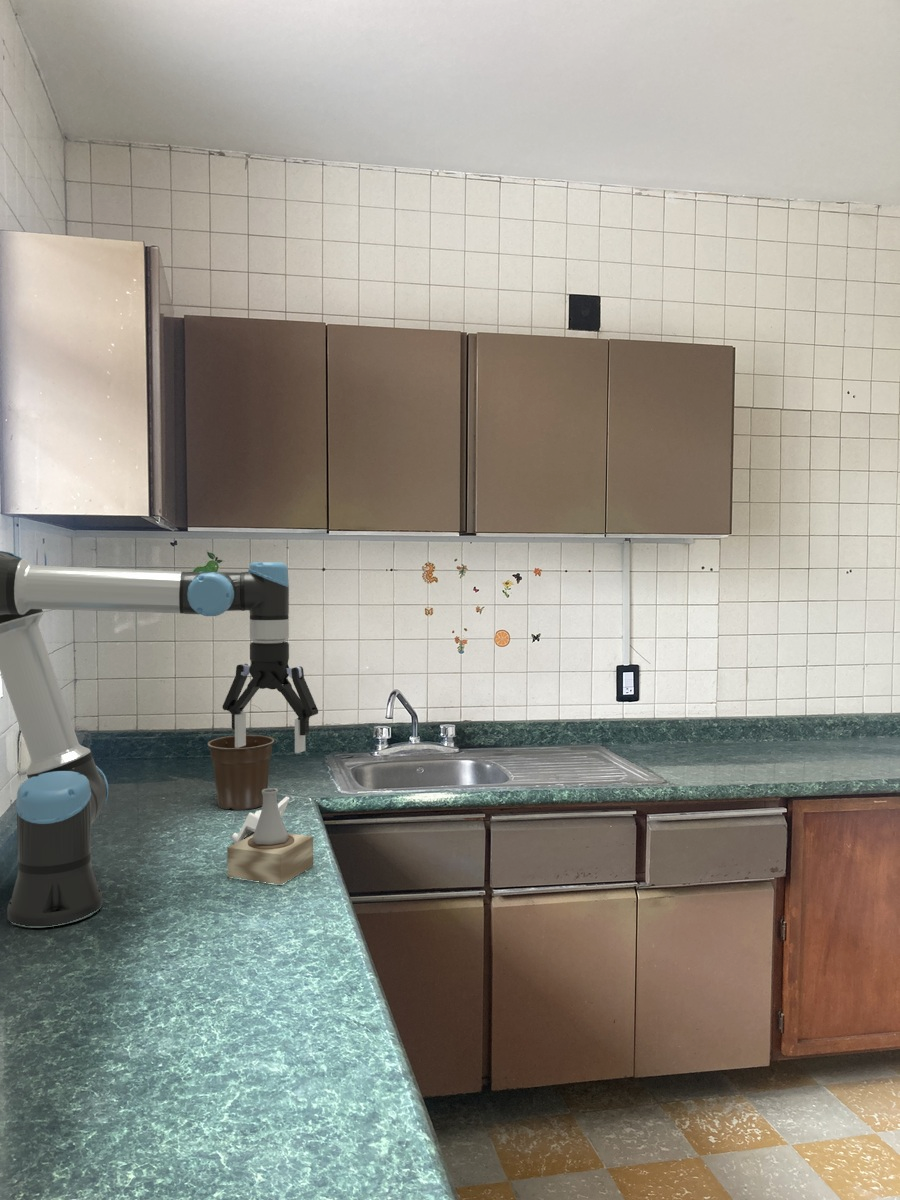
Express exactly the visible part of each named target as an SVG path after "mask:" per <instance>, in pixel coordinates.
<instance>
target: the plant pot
mask: <svg viewBox="0 0 900 1200" xmlns="http://www.w3.org/2000/svg"><path fill="white" fill-rule="evenodd" d="M274 743H275V739H274V738H273V737H271V736H266V735H261V734H246V745H245V746H242V747H239V748H235V735H227V736H222V737H217V738H215V739H211V740H210V741H208V742H207V746H208V748H209V751H210V758H211V761H212V767H213V773H214V781H215V782H214V783H215V791H216V792H215V793H216V799H217V806H218V807H219V808H220V807H221V808H220V809H223V810H227V809H228V810H230V809H233V810H234V811H245V810H247V809H248V810H253V809H255V808H259V807H262V805H263V794H262V790H263V789H269V787H268V786H269V774H270V761H271V756H272V753H273V752H272V751H273V750H272V749H273V744H274ZM248 810H247V811H248Z"/></svg>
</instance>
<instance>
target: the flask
mask: <svg viewBox="0 0 900 1200" xmlns="http://www.w3.org/2000/svg"><path fill="white" fill-rule="evenodd" d="M278 793H279V789H278V788H274V787H273V788H271V787H268V789H263V790H262V794H263V805H262V806H261V810H262V811H261V814H260V817H259V820H258V823H257V826H256V829H255V832H253V834H254V835H253V834H252V835H253V838H252V841H253V842H254V843H256V844H263V845H272V844H278V843H284V842H286V841H287V840H288V838H289V836H288V831H287V828H286V826H285V823H284V821H283V818H282V817H283V816H282V817H281V815H280V812H279V808H278V803H279V802H278Z"/></svg>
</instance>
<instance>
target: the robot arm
mask: <svg viewBox="0 0 900 1200" xmlns="http://www.w3.org/2000/svg"><path fill="white" fill-rule="evenodd" d="M289 596H290V583H289V568H288V565H286V564H285V562H280V561H277V562H276V561H275V562H274V561H273V562H272V561H271V562H269V561H264V562H263V561H259V562H258V561H257V562H255V561H254V562H251V563H250V564H249V568H248V571H241V572H234V571H232V572H231V571H180V570H179V571H177V570H158V569H156V570H155V569H152V570H151V569H134V568H133V569H130V568H129V569H128V568H106V567H105V568H104V567H89V566H88V567H87V566H86V567H84V566H64V565H63V566H62V565H61V566H60V565H37V564H32V563H30V562H29V561H28V559H26V558H23V557H21V556H20V555H17V554H14V553H12V552H9V551H3V550H0V674H1V677H2V679H3V683H4V685H5V689H6V691H7V695H8V697H9V700H10V704H11V706H12V709H13V711H14V715H15V718H16V720H17V723H18V726H19V728H20V731H21V735H22V737H23V741H24V742H25V746H26V748H27V751H28V755H29V757H30V760H31V761H30V764H29V766H28V767H27V770H26V772H25V773H26V776H27V779H25V781H23V782H22V783H21V784H20V785H19V787H18V789H17V793H16V800H15V811H16V830H17V831H16V835H17V836H16V837H17V838H16V839H17V870H18V871H17V875H16V879H15V882H14V886H13V888H12V889H13V890H12V893H11V897H10V899H9V901H8V903H7V920H8V919H9V920H10V921H11V922H13V923H16V924H20V925H25V926H52V925H58V924H62V923H67V922H70V921H73V920H76V919H79V918H82V917H84V916H86V915H88V914H90V913H92V912H94V911H96V910H97V909H99V908H100V907H101V905H102V906H103V892H102V889H101V887H99V884H98V880H97V877H96V873H95V871H94V868H93V866H92V850H91V849H92V846H91V843H92V841H91V839H92V838H91V827H92V825H93V823H94V822H95V821H96V819H98V818H99V816H100V815H101V814H102V812H103V811H104V809H105V806H106V804H107V802H108V797H109V784H108V780H107V777H106V775H105V773H104V772H103V770H102V769H100V768H99V767H98V766H97V765H96V762H95V760H94V758H93V754H92V751H91V749H90V748H89V747H85V746H84V745H81V744H80V742H79V739H78V737H77V735H76V732H75V728H74V725H73V722H72V720H71V716H70V714H69V710H68V707H67V705H66V702H65V699H64V696H63V694H62V691H61V687H60V684H59V682H58V679H57V676H56V673H55V670H54V667H53V664H52V661H51V658H50V655H49V653H48V650H47V646H46V644H45V640H44V637H43V635H42V633H41V629H40V627H39V624H40V621H41V620H42V617H43V615H44V610H51V611H53V610H55V611H56V610H57V611H58V610H59V611H60V610H61V611H85V612H86V611H87V612H88V611H89V612H91V611H92V612H115V613H117V612H122V613H123V612H124V613H152V614H160V613H161V614H181V615H182V614H183V615H185V614H186V615H202V616H204V617H218V616H220V615H222V614H224V613H225V612H235V611H236V612H239V611H241V612H242V611H243V612H244V611H249V639H250V640H251V641H252V642H250V644H249V660H250V662H251V663H250V665H249V664H247V663H241V664H237V665H236V668H235V676H234V679H233V681H232V682H231V685H230V688H229V690H228V692H227V695H226V697H225V699H224V702H223V704H222V709H223V711H227V712H229V713H230V715H231V730H232V731H234V736H235V748H239V747H242V746H245V745H246V735H247V728H246V727H247V719H246V718H247V714H246V712H244V711H245V710H244V709H245V707H246V706H248V704H249V702H250V701H251V700H252V699H253V697H254V696H255V694H256V693H257V692H258V691H259V689H260V690H261V689H262V690H264V689H268V690H277V691H278V692H279V693H281V695H282V696H283V697H284V699H285V701H287V703H288V706H290V708H291V709H292V711H294V713H295V714H296V716H297V718H295V719H294V754H299V753H302V752H306V736H307V735H309V733H310V718H311V717H313V716H315V715H318V714H319V708H318V706H317V704H316V702H315V700H314V698H313V695H312V693H311V691H310V688H309V686H308V684H307V681H306V680H305V674H304V673H305V672H304V668H303V667H302V666H295V667H290V666H289V660H290V643H289V642H288V641H286V640H288V639H289V638H290V637H289V635H290V633H289V632H290V631H289V630H290V629H289V628H290V626H289V625H290V622H289V621H290V619H289V618H290V616H289V613H290V612H289V610H290V608H289V607H290V605H289V604H290V597H289ZM249 675H250V676H251V677H252V679H251V680H250V681H249V682H248V684H247V687H246V688H245V690H243V688H244V686H245V684H246V682H247V678H248V676H249ZM288 677H290V678H291V679H292V683H293V685H294V688H295V689H293V686H292V683H291V681H290V680H289V679H288ZM295 690H296V692H295ZM242 691H243V692H242ZM241 692H242V694H241Z"/></svg>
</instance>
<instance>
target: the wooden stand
mask: <svg viewBox="0 0 900 1200" xmlns="http://www.w3.org/2000/svg"><path fill="white" fill-rule="evenodd" d="M287 833H288V832H287ZM253 835H254V833H253V834H250V835H248V836H247V837H246V838H245V839H243V840H241V841H239V842H237V843H235V844H234V843H233V844H231V845H229V846H228V847H227V848H226V849H227V850H226V851H227V853H226V854H227V862H226V864H227V878H228V877H233V878H241V879H247V880H253V881H259V882H266V883H274V884H283V883H285V882H286V881H288V880H290V879H292V878H294V877H295V876H297V875H298V876H300V875H301V874H300V873H302V872H303V873H305V872H306V871H308V870H309V869H311V868H313V867H314V836H310V835H302V834H295V833H288V836H289V838H288V840H287V841H286V842H284V843H278V844H272V845H263V844H256V843H254V842H253V841H252V838H253ZM312 866H313V867H312ZM307 869H308V870H307ZM305 870H306V871H305ZM304 871H305V872H304ZM303 873H302V874H303ZM299 874H300V875H299ZM298 876H297V877H298ZM295 878H296V877H295ZM295 878H294V879H295ZM292 880H293V879H292ZM290 881H291V880H290Z"/></svg>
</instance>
